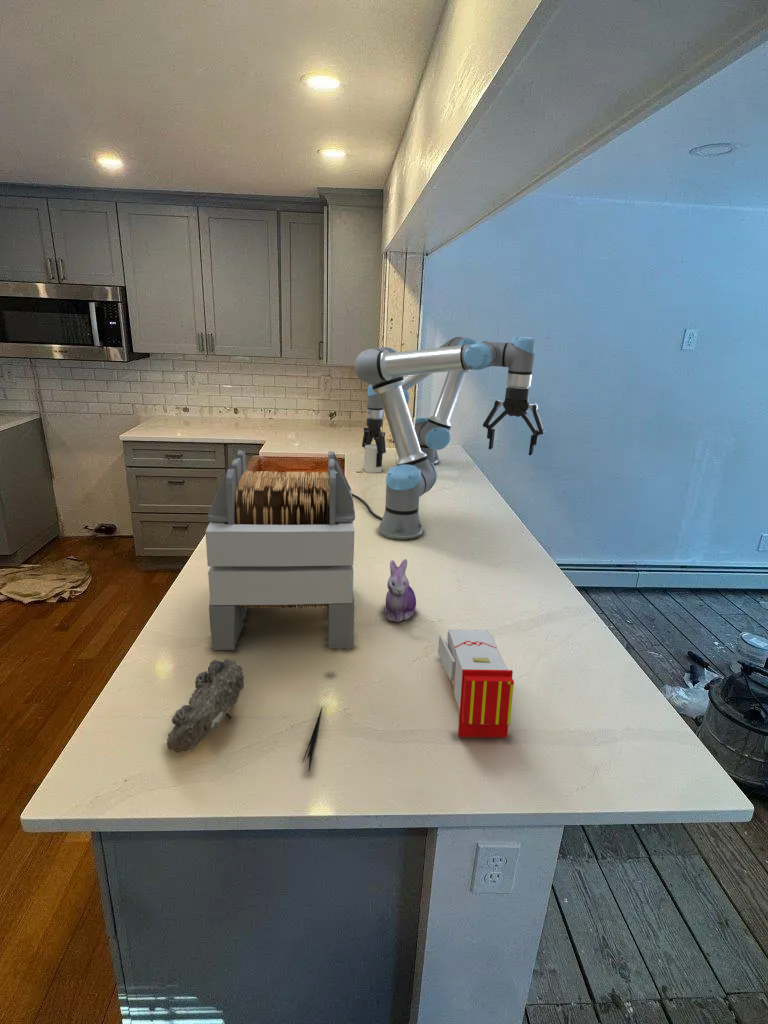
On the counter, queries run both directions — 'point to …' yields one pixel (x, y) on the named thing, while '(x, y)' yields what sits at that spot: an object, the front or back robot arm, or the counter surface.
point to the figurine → (399, 594)
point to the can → (371, 459)
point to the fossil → (206, 705)
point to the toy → (478, 682)
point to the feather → (313, 740)
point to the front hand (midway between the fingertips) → (510, 451)
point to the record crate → (281, 548)
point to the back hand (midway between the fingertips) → (373, 464)
